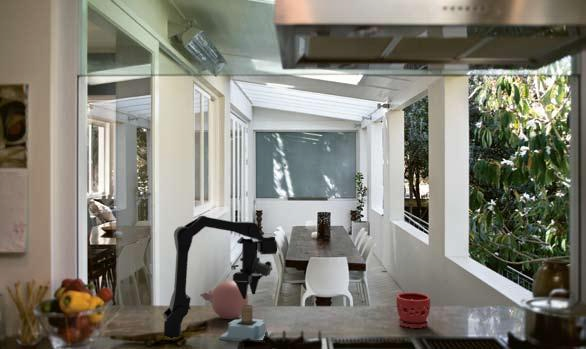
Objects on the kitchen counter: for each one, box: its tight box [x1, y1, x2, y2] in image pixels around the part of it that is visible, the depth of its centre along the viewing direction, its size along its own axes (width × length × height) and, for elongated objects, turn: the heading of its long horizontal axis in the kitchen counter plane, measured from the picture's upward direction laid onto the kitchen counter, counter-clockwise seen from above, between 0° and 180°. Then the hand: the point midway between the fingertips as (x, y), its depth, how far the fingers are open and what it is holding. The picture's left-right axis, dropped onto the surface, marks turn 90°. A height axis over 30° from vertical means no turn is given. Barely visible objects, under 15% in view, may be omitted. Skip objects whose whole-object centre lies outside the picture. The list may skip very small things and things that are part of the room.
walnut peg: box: [240, 304, 254, 326], centre depth 184 cm, size 4×4×10 cm
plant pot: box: [395, 292, 431, 329], centre depth 202 cm, size 13×13×12 cm
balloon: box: [199, 280, 249, 320], centre depth 211 cm, size 15×20×15 cm
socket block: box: [219, 318, 274, 342], centre depth 184 cm, size 12×16×5 cm
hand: (249, 296), depth 192 cm, fingers open, 9 cm apart
